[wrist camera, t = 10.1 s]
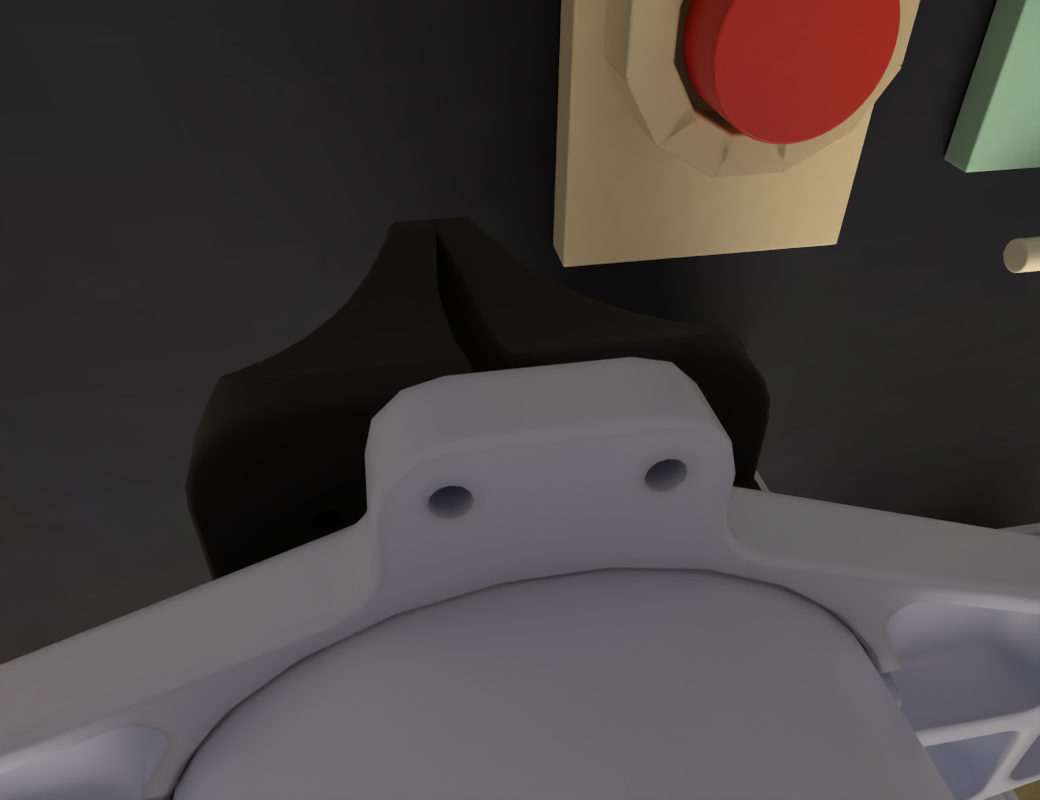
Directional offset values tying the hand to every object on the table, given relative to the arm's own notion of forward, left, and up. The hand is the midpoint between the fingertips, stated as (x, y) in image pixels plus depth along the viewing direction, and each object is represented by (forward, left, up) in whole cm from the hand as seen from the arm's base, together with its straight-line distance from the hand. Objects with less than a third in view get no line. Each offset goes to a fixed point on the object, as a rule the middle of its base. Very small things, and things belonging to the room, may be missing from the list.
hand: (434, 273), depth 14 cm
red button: (+2, -9, -7) cm, 12 cm away
